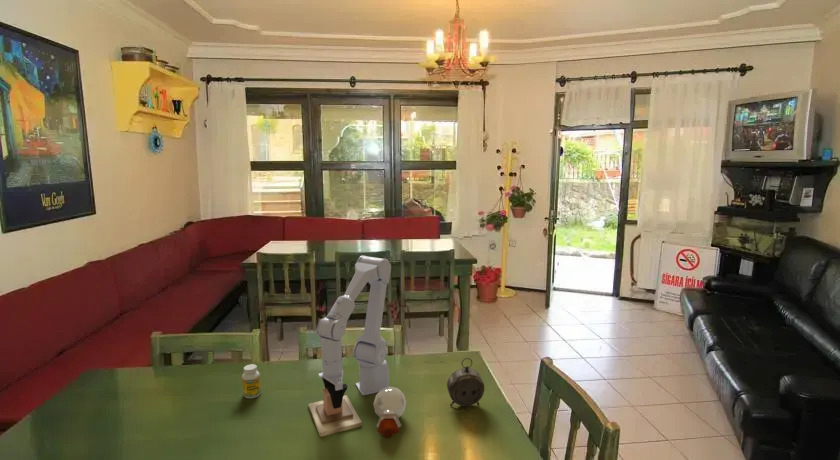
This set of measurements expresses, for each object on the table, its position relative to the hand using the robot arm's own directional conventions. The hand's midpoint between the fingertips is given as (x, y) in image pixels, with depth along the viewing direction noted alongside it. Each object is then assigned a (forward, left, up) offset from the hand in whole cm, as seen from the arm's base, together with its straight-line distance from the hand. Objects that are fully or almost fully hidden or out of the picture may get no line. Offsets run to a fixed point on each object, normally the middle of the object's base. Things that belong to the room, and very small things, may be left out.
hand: (333, 400), depth 137 cm
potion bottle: (-14, +10, -5) cm, 18 cm away
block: (0, 0, -3) cm, 3 cm away
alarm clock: (-38, +12, -5) cm, 40 cm away
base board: (0, 0, -5) cm, 5 cm away
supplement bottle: (+21, -23, -5) cm, 32 cm away
